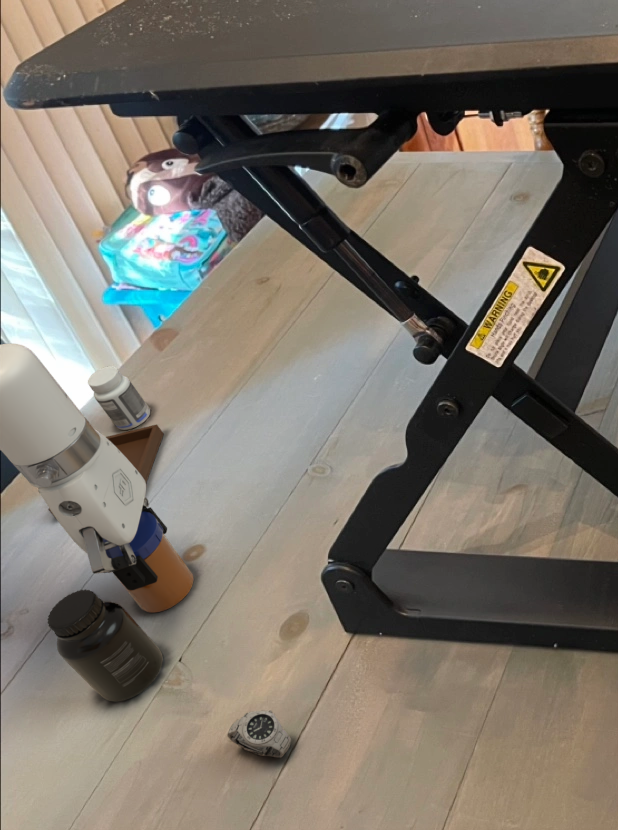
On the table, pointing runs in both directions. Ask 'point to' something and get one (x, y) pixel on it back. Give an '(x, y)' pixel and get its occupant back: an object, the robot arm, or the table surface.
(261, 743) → the wristwatch
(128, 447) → the walnut tray
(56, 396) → the robot arm
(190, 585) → the jam jar
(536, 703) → the table surface
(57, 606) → the supplement bottle
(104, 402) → the pill bottle
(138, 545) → the jar lid
